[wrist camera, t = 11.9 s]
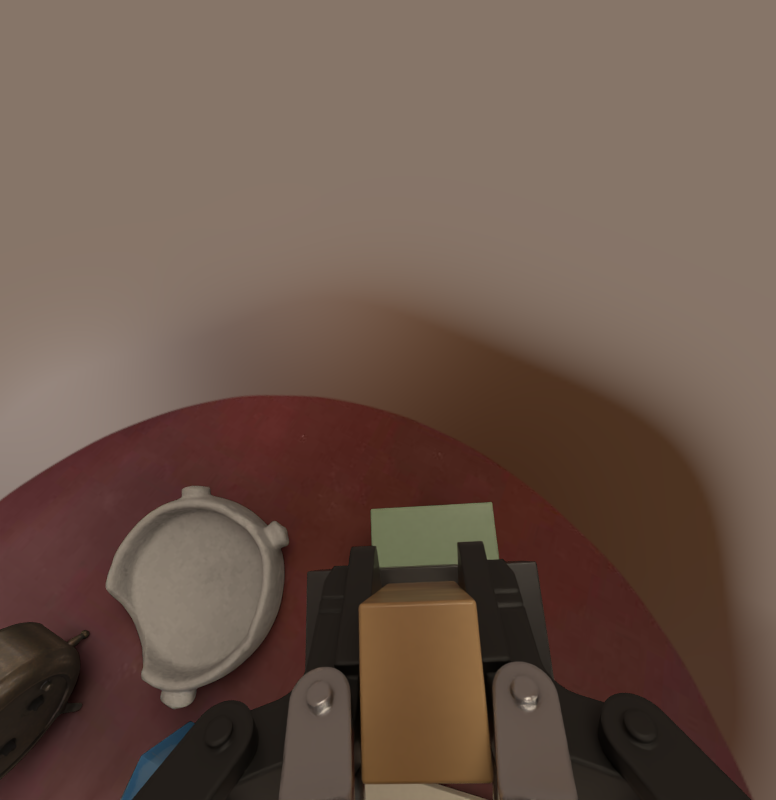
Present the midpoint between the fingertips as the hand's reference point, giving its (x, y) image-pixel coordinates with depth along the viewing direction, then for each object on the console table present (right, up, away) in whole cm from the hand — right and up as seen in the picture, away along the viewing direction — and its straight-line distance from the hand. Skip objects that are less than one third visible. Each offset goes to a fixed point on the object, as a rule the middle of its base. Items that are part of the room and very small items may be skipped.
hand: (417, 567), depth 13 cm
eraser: (+1, -3, +3) cm, 5 cm away
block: (+3, -8, +24) cm, 25 cm away
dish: (-16, -11, +25) cm, 32 cm away
